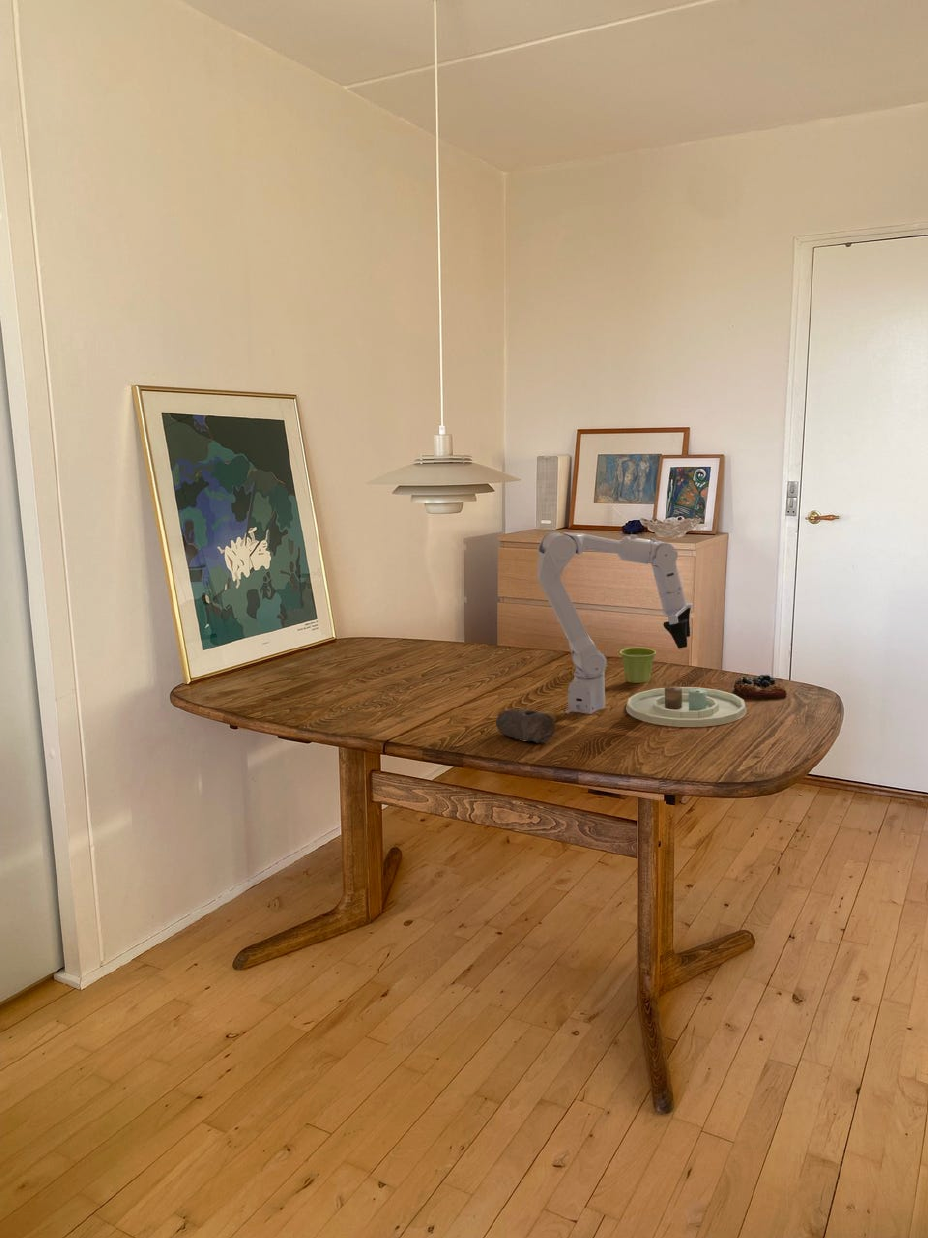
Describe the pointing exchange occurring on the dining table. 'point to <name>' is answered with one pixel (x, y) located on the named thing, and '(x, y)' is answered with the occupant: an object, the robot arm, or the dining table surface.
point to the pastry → (759, 688)
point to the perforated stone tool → (526, 725)
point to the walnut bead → (673, 697)
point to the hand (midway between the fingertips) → (684, 642)
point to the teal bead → (697, 699)
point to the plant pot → (637, 664)
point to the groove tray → (686, 708)
